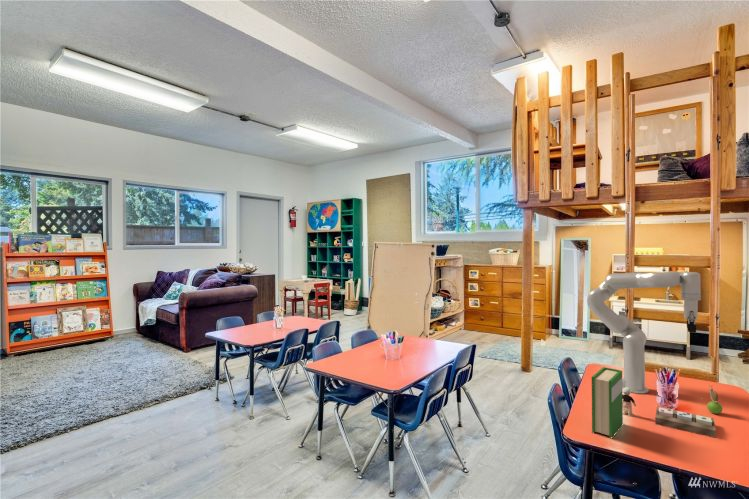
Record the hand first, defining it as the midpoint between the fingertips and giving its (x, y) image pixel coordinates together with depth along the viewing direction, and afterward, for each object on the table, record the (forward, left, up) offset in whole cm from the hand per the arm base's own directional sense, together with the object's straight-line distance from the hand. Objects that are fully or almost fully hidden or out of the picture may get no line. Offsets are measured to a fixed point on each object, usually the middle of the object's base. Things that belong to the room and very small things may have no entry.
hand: (691, 330), depth 191 cm
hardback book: (-29, -58, -36) cm, 74 cm away
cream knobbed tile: (+3, -34, -34) cm, 48 cm away
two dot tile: (-10, -34, -34) cm, 49 cm away
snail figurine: (+8, -11, -36) cm, 39 cm away
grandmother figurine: (-24, -37, -36) cm, 57 cm away
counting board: (-3, -34, -36) cm, 49 cm away
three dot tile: (-3, -34, -34) cm, 48 cm away
